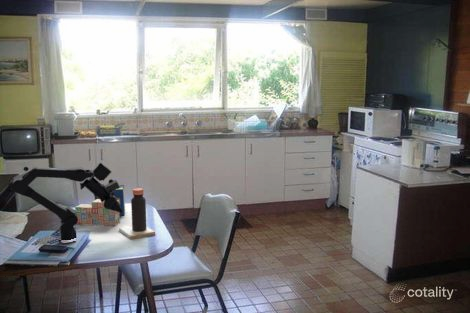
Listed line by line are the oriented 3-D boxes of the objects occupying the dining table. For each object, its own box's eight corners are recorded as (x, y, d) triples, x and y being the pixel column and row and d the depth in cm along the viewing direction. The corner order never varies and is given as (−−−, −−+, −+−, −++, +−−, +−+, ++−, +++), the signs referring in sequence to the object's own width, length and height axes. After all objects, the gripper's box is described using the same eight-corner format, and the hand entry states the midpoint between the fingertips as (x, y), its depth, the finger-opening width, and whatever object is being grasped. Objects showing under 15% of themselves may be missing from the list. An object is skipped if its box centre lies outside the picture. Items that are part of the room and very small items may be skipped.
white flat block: (131, 239, 213) (131, 236, 212) (119, 230, 226) (119, 227, 226) (155, 234, 219) (155, 231, 219) (142, 226, 232) (142, 223, 232)
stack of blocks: (75, 224, 236) (74, 201, 235) (81, 221, 243) (80, 198, 241) (115, 226, 233) (114, 202, 231) (120, 222, 239) (119, 199, 237)
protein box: (97, 213, 257) (95, 185, 255) (125, 211, 260) (124, 184, 258) (95, 218, 247) (93, 190, 245) (124, 216, 250) (123, 188, 248)
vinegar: (136, 232, 217) (135, 191, 214) (129, 229, 222) (128, 189, 219) (149, 230, 222) (147, 189, 219) (142, 226, 227) (140, 187, 224)
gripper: (110, 179, 204) (136, 201, 210) (106, 171, 221) (130, 192, 227) (92, 197, 203) (119, 219, 208) (90, 188, 220) (114, 208, 226)
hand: (121, 209), depth 217 cm, fingers open, 9 cm apart
